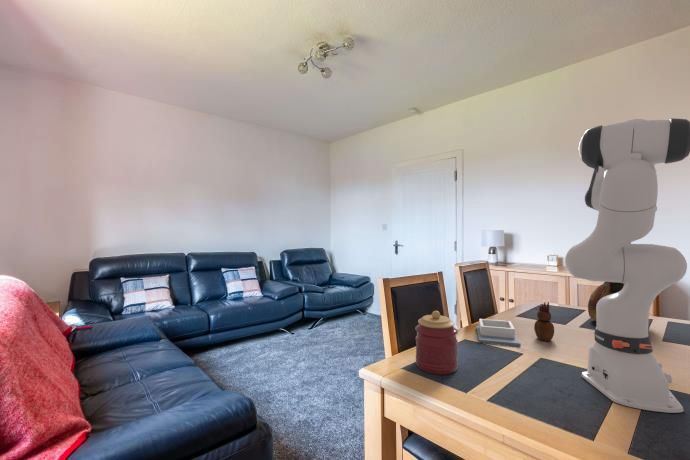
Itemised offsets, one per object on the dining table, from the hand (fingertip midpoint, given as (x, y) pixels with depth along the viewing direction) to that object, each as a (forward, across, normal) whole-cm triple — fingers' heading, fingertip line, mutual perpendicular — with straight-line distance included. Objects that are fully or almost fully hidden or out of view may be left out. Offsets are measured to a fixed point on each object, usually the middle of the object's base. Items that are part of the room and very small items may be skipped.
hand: (580, 262), depth 121 cm
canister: (+57, +35, -18) cm, 69 cm away
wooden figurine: (+30, 0, +12) cm, 33 cm away
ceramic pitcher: (+6, -27, +39) cm, 48 cm away
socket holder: (+42, +1, 0) cm, 42 cm away
